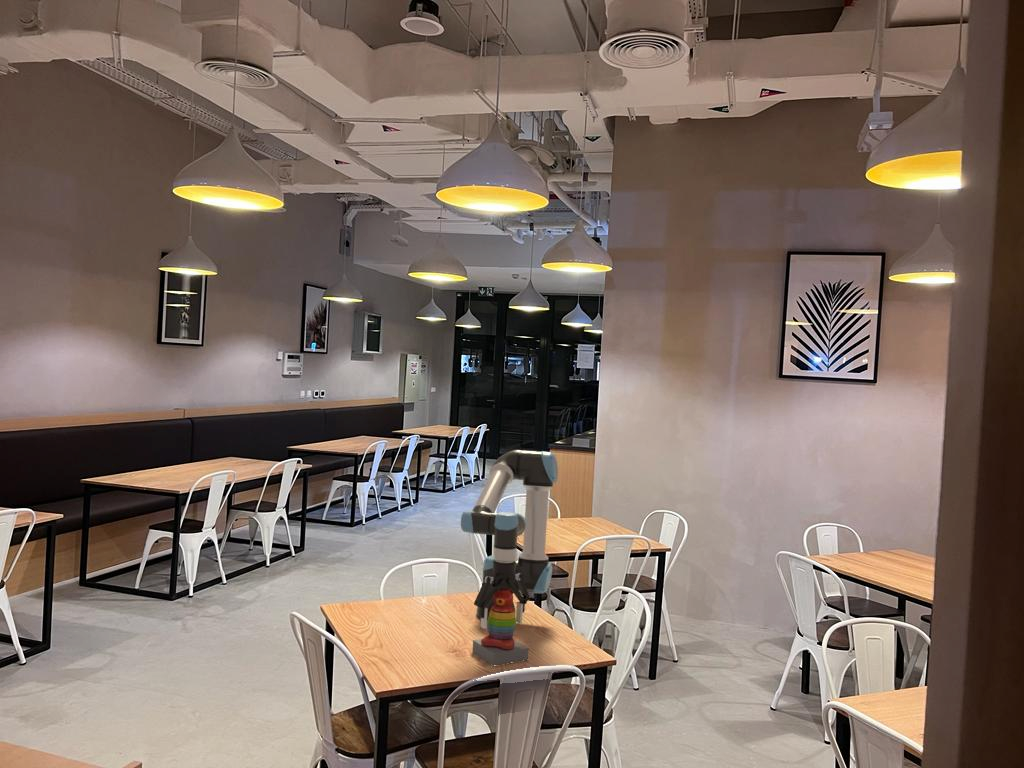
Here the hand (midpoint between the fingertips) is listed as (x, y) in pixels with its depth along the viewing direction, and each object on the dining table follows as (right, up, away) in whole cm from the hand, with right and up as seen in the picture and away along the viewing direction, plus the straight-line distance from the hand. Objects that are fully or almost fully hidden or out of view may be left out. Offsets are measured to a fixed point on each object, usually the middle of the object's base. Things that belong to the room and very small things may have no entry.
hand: (501, 625), depth 238 cm
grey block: (0, -10, 0) cm, 10 cm away
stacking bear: (-1, -6, 0) cm, 6 cm away
